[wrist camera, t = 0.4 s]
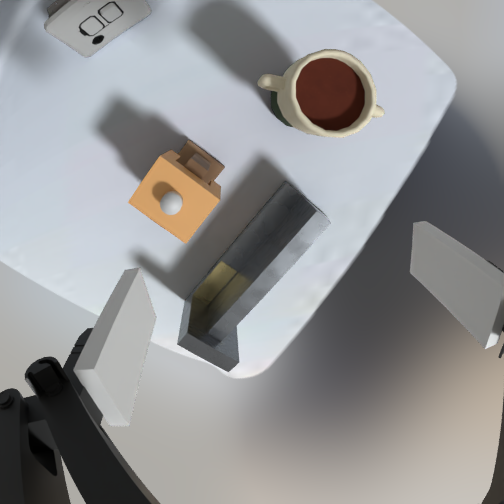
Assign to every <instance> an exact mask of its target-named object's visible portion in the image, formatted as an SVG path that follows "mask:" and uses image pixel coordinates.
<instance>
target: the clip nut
mask: <svg viewBox="0 0 504 504" xmlns="http://www.w3.org/2000/svg"><path fill="white" fill-rule="evenodd" d="M180 157H181V156H180V155H178V154H177V153H175V152H174V151H173V150H170V151H168V152H166V153H164V154H162V155H160V156H159V158H158V159H157V160H156V162H155V163H154V165H153V166H152V168H151V169H150V170H149V172H148V173H147V175H146V176H145V178H144V179H143V181H142V182H141V184H140V185H139V186H138V188H137V189H136V191H135V192H134V194H133V196H132V197H131V199H130V200H129V202H128V203H129V204H131V205H132V206H134V207H135V208H136V209H138V210H139V211H141V212H142V213H143V214H145V215H146V216H147V217H149V218H150V219H152V220H153V221H154V222H156V223H157V224H159V225H160V226H162V227H163V228H164V229H166V230H167V231H169V232H170V233H171V234H173V235H174V236H176V237H177V238H178V239H180V240H181V241H183V242H184V243H187V242H188V241H189V239H190V238H191V237H192V235H193V234H194V233H195V231H196V230H197V229H198V228H199V226H200V225H201V224H202V222H203V221H204V220H205V219H206V217H207V216H208V215H209V214H210V212H211V211H212V210H213V209H214V207H215V206H216V205H217V204H218V202H219V201H220V193H221V186H220V185H219V184H217V183H216V182H215V181H213V180H211V181H210V182H209V183H208V184H207V183H205V182H204V181H203V180H201V179H200V178H199V177H197V176H196V175H195V174H193V173H192V172H191V171H189V170H188V169H187V168H185V167H184V166H183V165H181V164H180V163H178V162H177V161H178V159H179V158H180Z"/></svg>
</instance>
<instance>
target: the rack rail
mask: <svg viewBox="0 0 504 504" xmlns="http://www.w3.org/2000/svg"><path fill="white" fill-rule="evenodd" d="M329 220H330V219H329V218H328V217H326V216H325V215H324V214H323V213H322V212H321V211H320V210H318V209H317V208H316V207H315V206H314V205H313V204H312V203H310V202H309V201H308V200H307V199H306V198H305V197H303V196H302V195H301V194H300V193H299V192H298V191H296V190H295V189H294V188H293V187H292V186H291V185H289V184H288V183H287V182H286V181H285V182H284V183H283V184H282V186H281V187H280V188H279V189H278V190H277V191H276V193H275V194H274V195H273V196H272V197H271V198H270V200H269V201H268V202H267V203H266V204H265V206H264V207H263V208H262V209H261V210H260V211H259V213H258V214H257V215H256V216H255V217H254V219H253V220H252V221H251V222H250V223H249V224H248V226H247V227H246V228H245V229H244V230H243V232H242V233H241V234H240V235H239V236H238V238H237V239H236V240H235V241H234V242H233V243H232V245H231V246H230V247H229V248H228V249H227V251H226V252H225V253H224V254H223V255H222V257H221V258H220V259H219V260H218V261H217V263H216V264H215V265H214V266H213V268H212V269H211V270H210V271H209V272H208V274H207V275H206V276H205V277H204V278H203V280H202V281H201V282H200V283H199V284H198V286H197V287H196V288H195V289H194V291H193V292H192V293H191V294H190V295H189V297H188V298H187V299H186V300H185V303H184V308H183V314H182V320H181V325H180V331H179V337H178V343H177V344H178V345H179V346H181V347H183V348H185V349H186V350H188V351H190V352H192V353H194V354H195V355H197V356H199V357H201V358H203V359H205V360H206V361H208V362H210V363H212V364H214V365H216V366H218V367H220V368H222V369H224V370H225V371H227V372H229V371H230V370H231V369H233V368H234V367H235V366H236V365H237V364H238V363H239V353H238V340H237V325H238V324H239V322H240V321H241V320H242V319H243V318H244V317H245V316H246V315H247V314H248V313H249V312H250V311H251V310H252V309H253V308H254V307H255V306H256V305H257V304H258V302H259V301H260V300H261V299H262V298H263V297H264V296H265V295H266V294H267V293H268V292H269V291H270V290H271V289H272V288H273V286H274V285H275V284H276V283H277V282H278V281H279V280H280V279H281V278H282V277H283V276H284V275H285V274H286V272H287V271H288V270H289V269H290V268H291V267H292V266H293V265H294V264H295V263H296V262H297V260H298V259H299V258H300V257H301V256H302V255H303V254H304V253H305V252H306V251H307V249H308V248H309V247H310V246H311V245H312V244H313V243H314V242H315V241H316V239H317V238H318V237H319V236H320V235H321V234H322V233H323V232H324V230H325V229H326V228H327V227H328V226H329V225H330V224H331V222H330V221H329Z"/></svg>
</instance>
